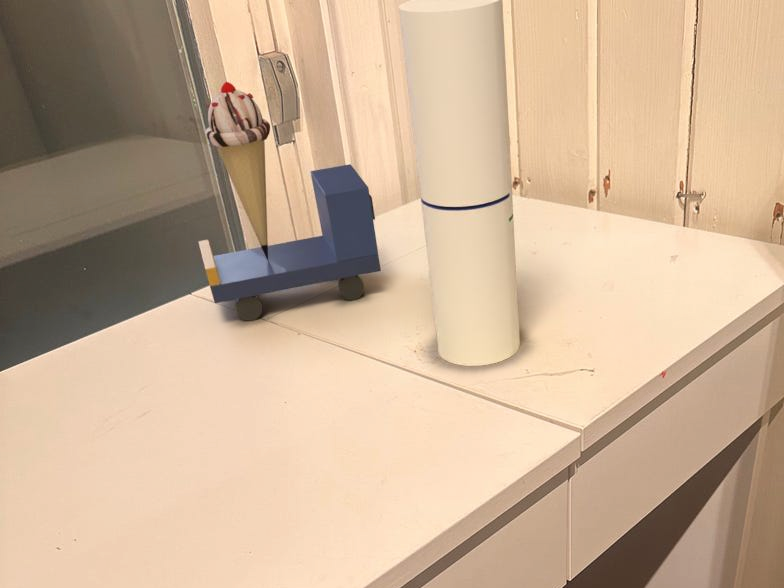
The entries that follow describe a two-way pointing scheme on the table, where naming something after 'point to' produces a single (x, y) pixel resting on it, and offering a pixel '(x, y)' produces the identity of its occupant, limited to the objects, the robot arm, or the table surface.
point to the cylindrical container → (464, 173)
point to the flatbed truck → (305, 249)
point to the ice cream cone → (242, 151)
